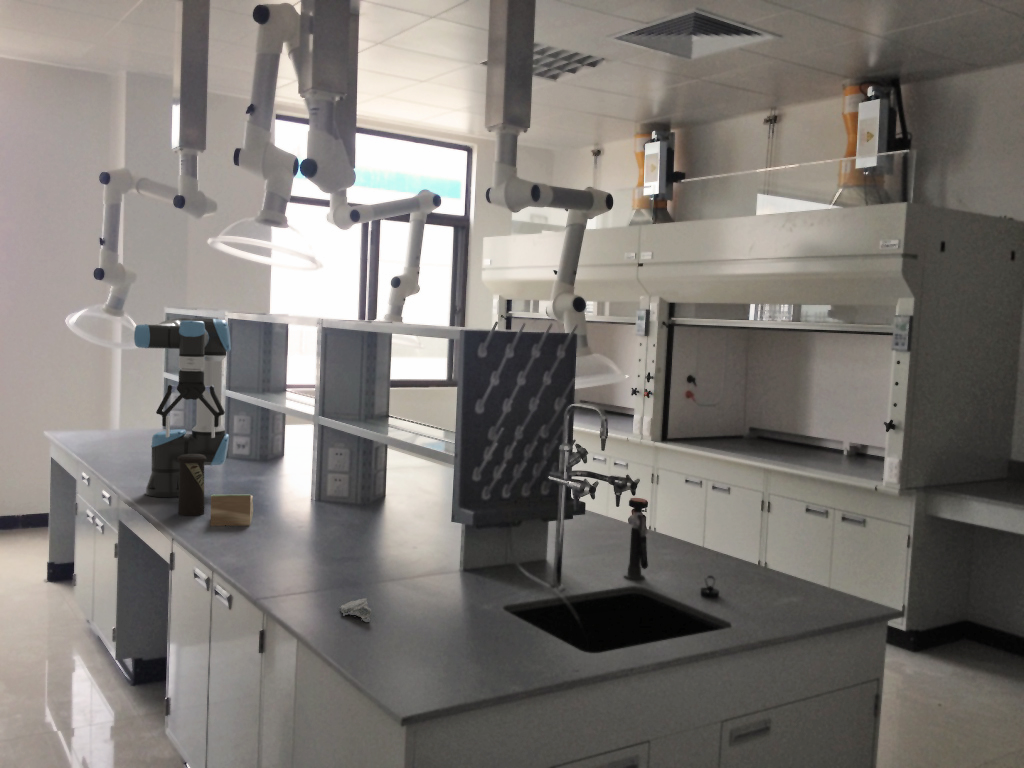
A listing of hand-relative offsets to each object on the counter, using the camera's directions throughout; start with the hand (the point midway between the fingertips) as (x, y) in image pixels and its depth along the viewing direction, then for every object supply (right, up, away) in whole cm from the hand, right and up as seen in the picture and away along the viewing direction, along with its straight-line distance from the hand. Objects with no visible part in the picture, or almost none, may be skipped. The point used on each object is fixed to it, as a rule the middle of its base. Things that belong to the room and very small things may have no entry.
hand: (190, 437), depth 282 cm
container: (-6, -27, +18) cm, 33 cm away
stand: (+10, -28, +11) cm, 31 cm away
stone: (+66, -37, -75) cm, 106 cm away
